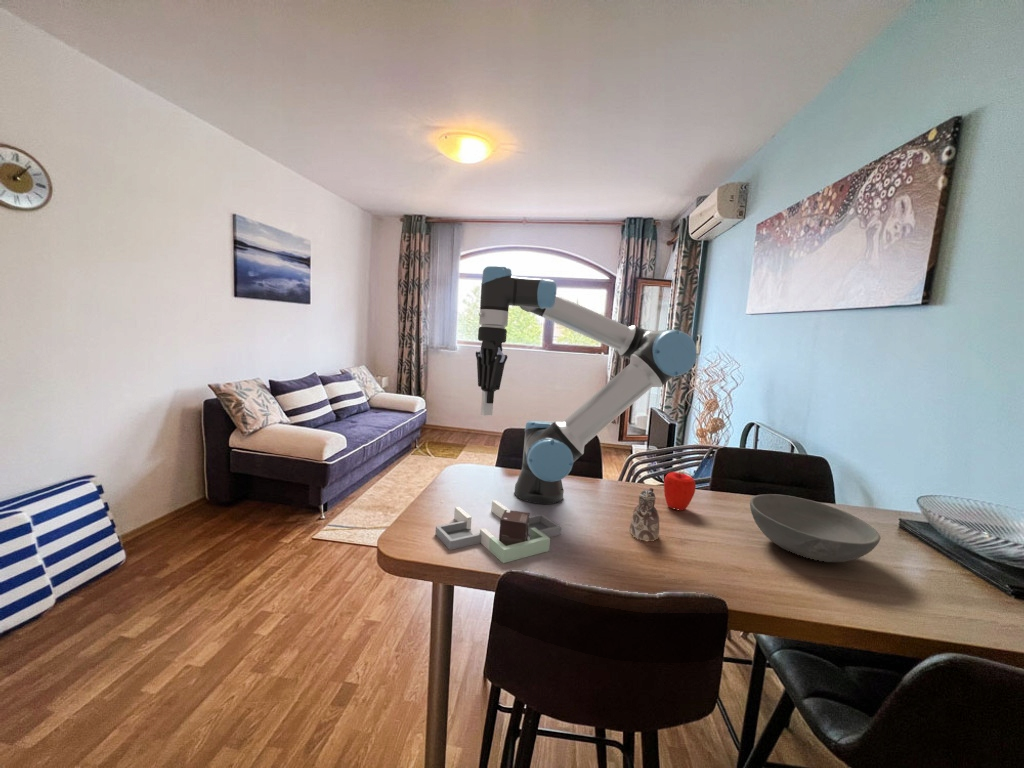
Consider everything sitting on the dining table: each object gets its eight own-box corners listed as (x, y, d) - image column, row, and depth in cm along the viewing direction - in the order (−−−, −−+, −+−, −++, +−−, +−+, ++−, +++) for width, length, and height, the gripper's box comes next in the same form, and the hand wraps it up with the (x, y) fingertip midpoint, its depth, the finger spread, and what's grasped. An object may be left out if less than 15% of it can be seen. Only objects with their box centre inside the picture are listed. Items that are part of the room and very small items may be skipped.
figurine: (624, 533, 107) (629, 488, 106) (637, 526, 112) (642, 483, 111) (650, 544, 102) (656, 497, 101) (662, 536, 107) (668, 491, 106)
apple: (694, 507, 129) (698, 473, 128) (689, 516, 122) (694, 480, 121) (664, 500, 134) (668, 467, 133) (658, 508, 126) (662, 473, 125)
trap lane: (518, 506, 119) (519, 496, 119) (574, 543, 100) (575, 531, 99) (425, 523, 104) (426, 512, 104) (470, 572, 84) (471, 558, 84)
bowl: (844, 541, 113) (850, 505, 112) (897, 594, 89) (905, 549, 87) (737, 520, 122) (741, 487, 121) (757, 564, 97) (763, 522, 96)
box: (524, 555, 93) (526, 523, 92) (497, 550, 94) (499, 519, 93) (527, 542, 99) (530, 512, 98) (502, 538, 100) (504, 508, 99)
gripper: (468, 325, 114) (463, 410, 116) (493, 326, 103) (486, 420, 106) (492, 327, 118) (486, 409, 120) (518, 328, 107) (511, 419, 110)
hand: (486, 414), depth 113 cm, fingers closed
